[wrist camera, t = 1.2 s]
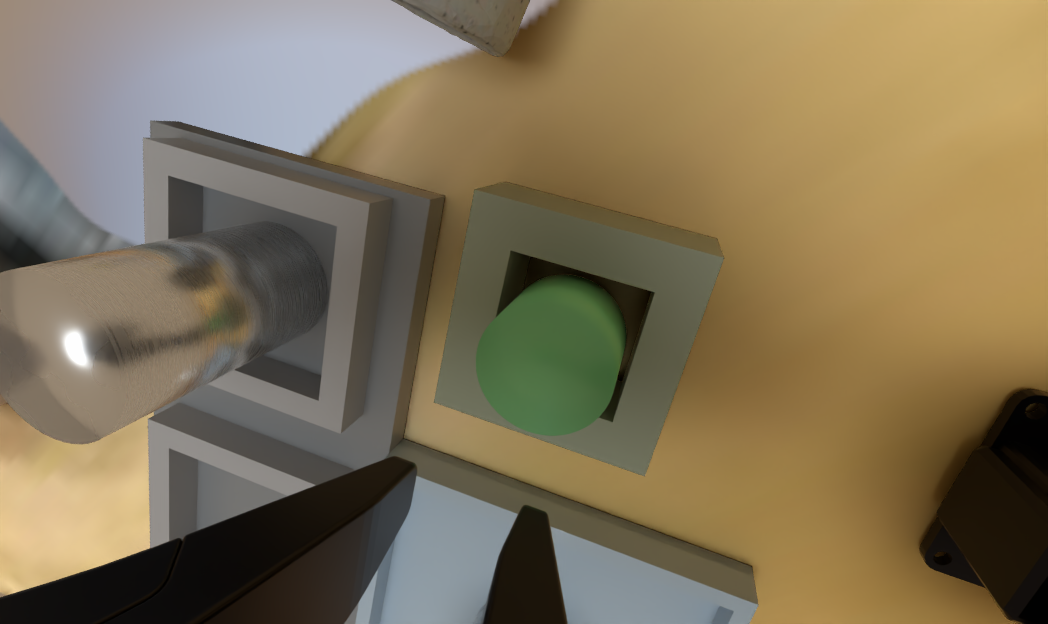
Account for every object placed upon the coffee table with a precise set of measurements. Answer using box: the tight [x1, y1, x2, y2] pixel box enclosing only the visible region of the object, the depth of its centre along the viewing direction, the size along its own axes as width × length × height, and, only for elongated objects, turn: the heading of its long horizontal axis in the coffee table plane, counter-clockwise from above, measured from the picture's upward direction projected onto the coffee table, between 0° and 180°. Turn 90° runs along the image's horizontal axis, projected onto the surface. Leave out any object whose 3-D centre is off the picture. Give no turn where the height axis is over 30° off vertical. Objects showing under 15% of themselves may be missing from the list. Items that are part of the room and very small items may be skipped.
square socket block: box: [434, 182, 724, 476], centre depth 18 cm, size 7×7×3 cm
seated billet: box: [0, 221, 328, 444], centre depth 17 cm, size 4×4×8 cm
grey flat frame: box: [143, 121, 445, 624], centre depth 22 cm, size 11×20×3 cm, turn 167°
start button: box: [476, 274, 627, 436], centre depth 15 cm, size 4×4×3 cm
